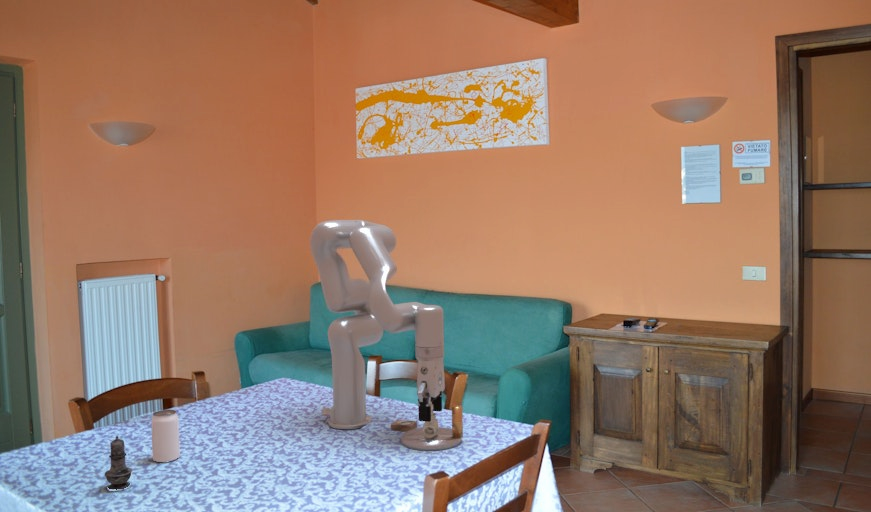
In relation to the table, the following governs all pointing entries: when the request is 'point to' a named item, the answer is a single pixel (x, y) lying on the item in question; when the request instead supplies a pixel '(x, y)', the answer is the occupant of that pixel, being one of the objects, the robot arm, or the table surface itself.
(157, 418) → the can
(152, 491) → the table surface
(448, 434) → the handwheel
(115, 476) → the salt shaker
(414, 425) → the dial pad
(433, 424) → the valve
